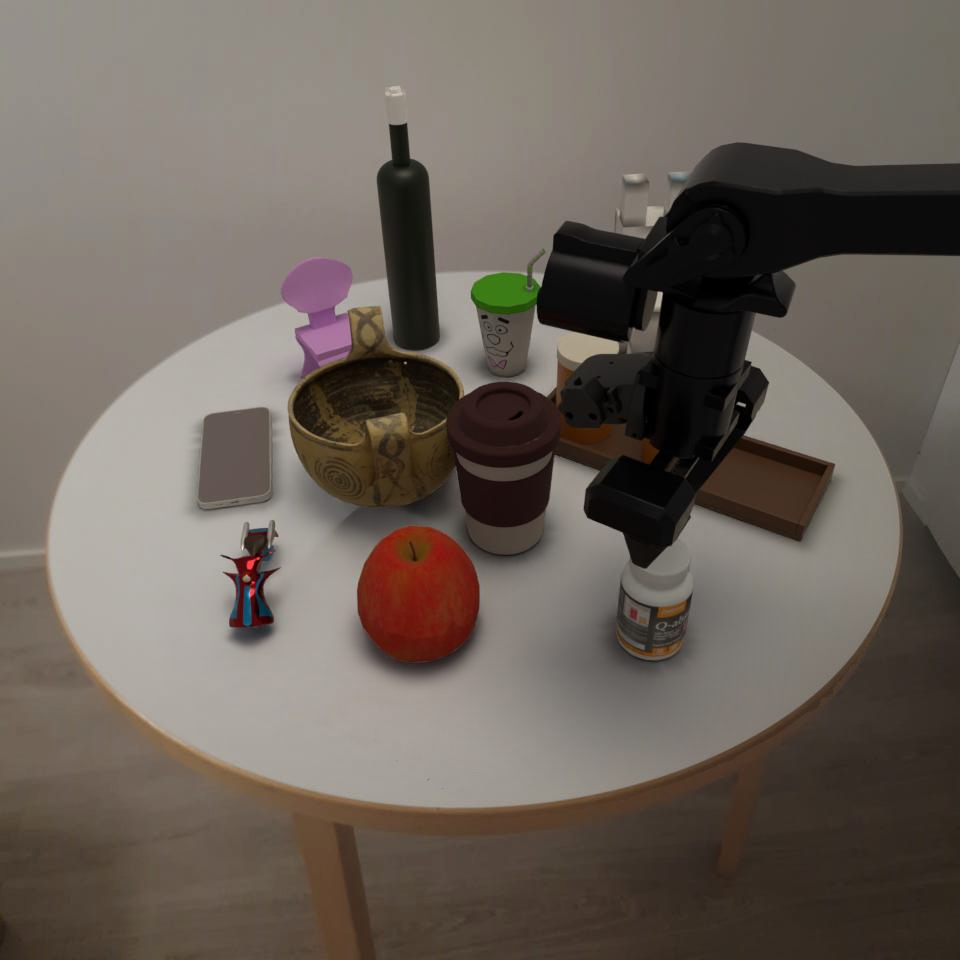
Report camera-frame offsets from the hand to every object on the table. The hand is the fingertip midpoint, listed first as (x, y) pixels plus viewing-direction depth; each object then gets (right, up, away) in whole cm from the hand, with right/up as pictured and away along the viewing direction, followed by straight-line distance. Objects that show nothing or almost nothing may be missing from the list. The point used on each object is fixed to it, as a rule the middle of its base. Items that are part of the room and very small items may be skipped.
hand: (665, 527), depth 68 cm
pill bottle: (0, -10, +8) cm, 13 cm away
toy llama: (+6, +18, +40) cm, 44 cm away
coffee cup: (-11, -1, +19) cm, 22 cm away
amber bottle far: (-3, +9, +29) cm, 31 cm away
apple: (-19, -9, +10) cm, 23 cm away
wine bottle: (-22, +21, +45) cm, 54 cm away
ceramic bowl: (-23, +3, +24) cm, 34 cm away
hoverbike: (-34, -7, +13) cm, 37 cm away
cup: (-11, +17, +40) cm, 44 cm away
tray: (+6, +6, +26) cm, 27 cm away
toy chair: (-30, +14, +38) cm, 50 cm away
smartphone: (-40, +6, +28) cm, 49 cm away
